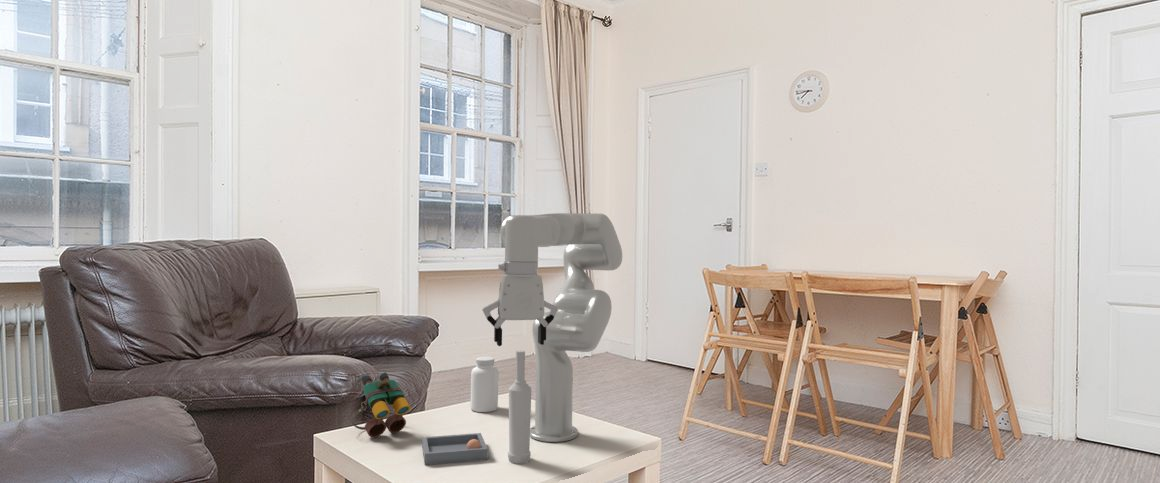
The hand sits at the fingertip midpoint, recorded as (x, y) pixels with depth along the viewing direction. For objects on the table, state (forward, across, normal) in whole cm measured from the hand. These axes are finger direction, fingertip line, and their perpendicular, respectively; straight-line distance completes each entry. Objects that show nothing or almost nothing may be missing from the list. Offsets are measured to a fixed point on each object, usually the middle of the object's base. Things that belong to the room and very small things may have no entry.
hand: (520, 344), depth 149 cm
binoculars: (+27, -30, +27) cm, 49 cm away
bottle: (+27, 0, 0) cm, 27 cm away
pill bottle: (+27, -2, +44) cm, 52 cm away
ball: (+26, -10, +5) cm, 28 cm away
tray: (+27, -14, +8) cm, 31 cm away
